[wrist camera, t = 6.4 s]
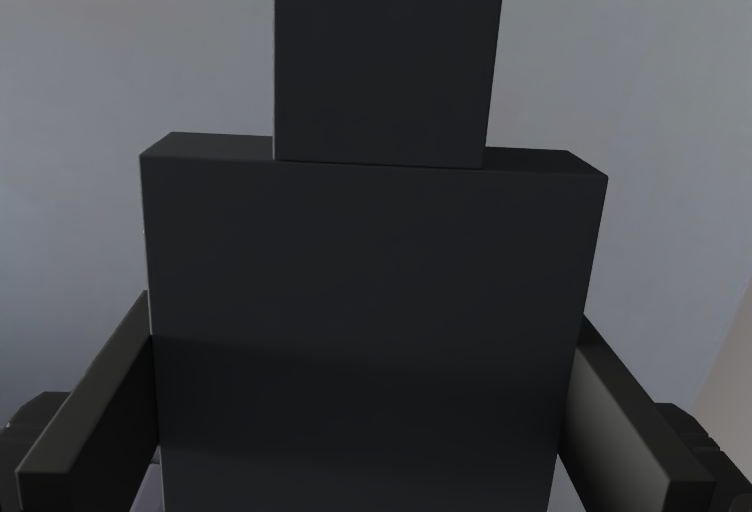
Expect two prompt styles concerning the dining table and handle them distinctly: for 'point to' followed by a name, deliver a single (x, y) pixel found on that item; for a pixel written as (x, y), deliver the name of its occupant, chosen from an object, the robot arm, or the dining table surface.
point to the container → (149, 492)
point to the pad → (366, 279)
